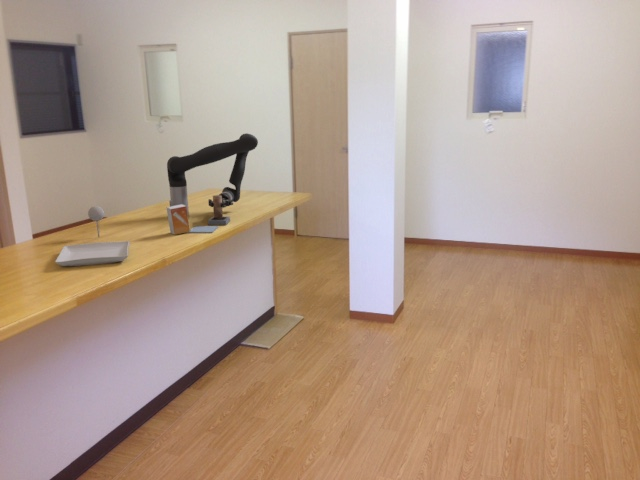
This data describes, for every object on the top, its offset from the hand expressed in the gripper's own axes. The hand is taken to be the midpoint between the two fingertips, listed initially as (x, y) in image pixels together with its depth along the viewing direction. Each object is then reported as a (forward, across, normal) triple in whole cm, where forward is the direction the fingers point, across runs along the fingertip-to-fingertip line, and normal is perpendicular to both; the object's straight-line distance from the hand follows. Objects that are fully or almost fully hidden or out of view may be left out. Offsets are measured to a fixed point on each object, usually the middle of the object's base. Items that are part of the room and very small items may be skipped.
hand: (216, 205), depth 290 cm
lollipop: (+28, -51, +11) cm, 59 cm away
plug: (-3, 0, +8) cm, 8 cm away
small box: (+19, -14, +10) cm, 26 cm away
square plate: (+63, -36, +11) cm, 73 cm away
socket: (-3, 0, +10) cm, 10 cm away
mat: (+13, -4, +10) cm, 17 cm away
